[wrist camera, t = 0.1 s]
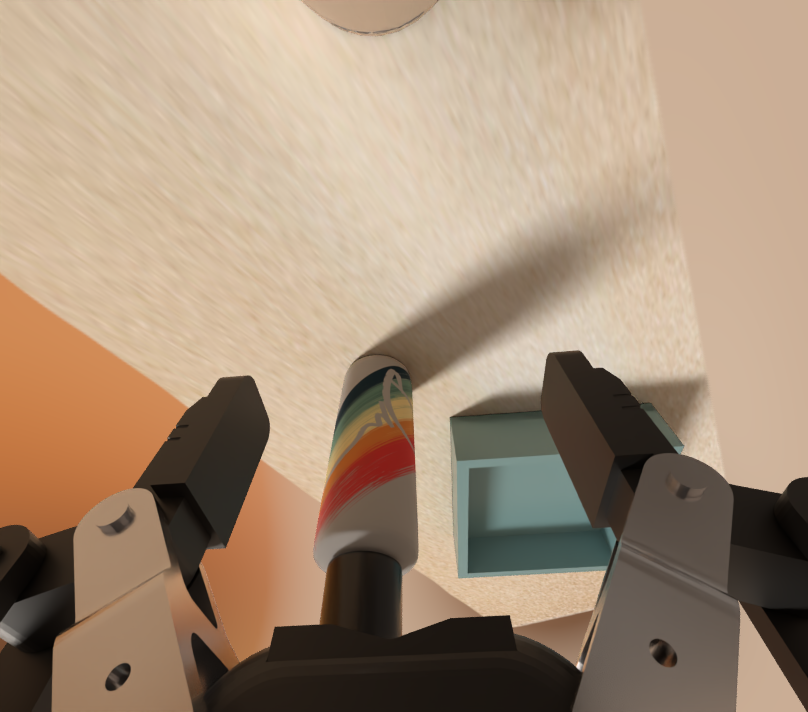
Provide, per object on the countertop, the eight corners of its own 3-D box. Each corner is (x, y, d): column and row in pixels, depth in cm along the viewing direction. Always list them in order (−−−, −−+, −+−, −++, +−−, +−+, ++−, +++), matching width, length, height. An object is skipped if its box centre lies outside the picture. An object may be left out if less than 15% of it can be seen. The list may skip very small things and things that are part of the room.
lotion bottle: (422, 364, 32) (445, 660, 16) (397, 411, 35) (395, 700, 19) (356, 344, 31) (308, 642, 14) (336, 394, 34) (278, 687, 17)
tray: (450, 417, 36) (456, 461, 31) (650, 403, 35) (684, 446, 31) (453, 535, 47) (458, 578, 43) (603, 526, 46) (623, 569, 42)
